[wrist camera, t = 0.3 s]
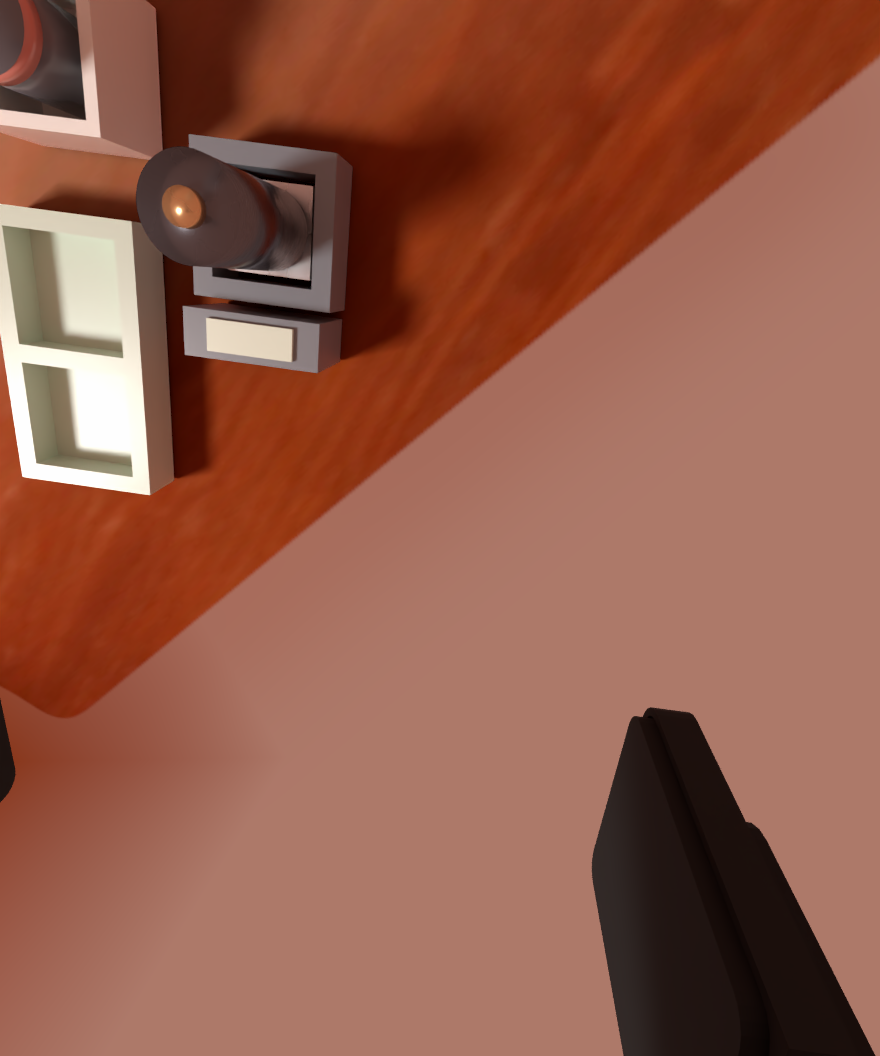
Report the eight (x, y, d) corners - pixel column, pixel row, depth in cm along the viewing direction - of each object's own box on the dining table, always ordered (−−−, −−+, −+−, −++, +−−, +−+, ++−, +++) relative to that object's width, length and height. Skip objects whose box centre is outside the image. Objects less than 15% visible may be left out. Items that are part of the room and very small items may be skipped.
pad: (238, 179, 31) (227, 175, 30) (320, 190, 31) (313, 186, 30) (239, 270, 33) (228, 269, 32) (317, 280, 33) (309, 280, 32)
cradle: (219, 149, 32) (170, 124, 27) (352, 166, 32) (327, 145, 27) (222, 345, 36) (180, 355, 31) (341, 361, 35) (318, 373, 31)
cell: (231, 180, 30) (122, 136, 21) (309, 190, 30) (233, 150, 21) (231, 266, 32) (131, 258, 23) (306, 275, 31) (234, 272, 23)
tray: (22, 208, 34) (-21, 201, 31) (161, 226, 33) (131, 221, 31) (55, 463, 39) (22, 476, 37) (174, 480, 39) (150, 495, 36)
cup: (26, -8, 30) (-188, -143, 20) (155, 8, 30) (-1, -121, 20) (43, 145, 32) (-140, 88, 23) (163, 161, 32) (28, 109, 23)
